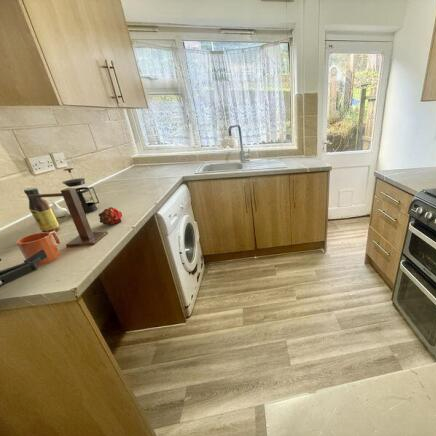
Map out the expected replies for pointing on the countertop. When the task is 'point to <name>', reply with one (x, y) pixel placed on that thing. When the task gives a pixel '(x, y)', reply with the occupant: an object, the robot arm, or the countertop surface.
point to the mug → (40, 246)
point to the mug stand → (76, 218)
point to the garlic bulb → (58, 210)
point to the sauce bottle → (42, 212)
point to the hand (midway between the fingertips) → (21, 255)
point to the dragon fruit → (110, 216)
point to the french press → (80, 181)
